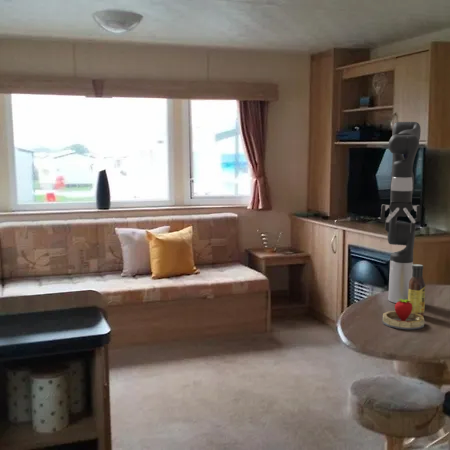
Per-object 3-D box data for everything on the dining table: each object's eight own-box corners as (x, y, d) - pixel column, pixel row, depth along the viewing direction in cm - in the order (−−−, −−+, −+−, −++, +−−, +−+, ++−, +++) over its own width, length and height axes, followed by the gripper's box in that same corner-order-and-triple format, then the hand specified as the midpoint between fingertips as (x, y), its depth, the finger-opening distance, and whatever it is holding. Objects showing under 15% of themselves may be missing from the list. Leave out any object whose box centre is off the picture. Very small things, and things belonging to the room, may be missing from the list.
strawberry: (390, 321, 217) (391, 295, 215) (400, 317, 222) (402, 291, 221) (404, 325, 213) (406, 298, 211) (415, 321, 218) (416, 294, 216)
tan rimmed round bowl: (380, 316, 226) (381, 309, 226) (420, 318, 223) (421, 311, 223) (384, 328, 212) (384, 321, 211) (426, 331, 209) (427, 323, 208)
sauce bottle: (425, 318, 224) (427, 267, 221) (408, 317, 225) (410, 266, 223) (422, 313, 231) (425, 263, 228) (406, 312, 232) (408, 263, 229)
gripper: (420, 188, 220) (418, 231, 222) (381, 188, 222) (379, 230, 225) (423, 190, 213) (420, 234, 215) (382, 189, 215) (380, 233, 217)
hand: (399, 232), depth 220 cm, fingers open, 8 cm apart
